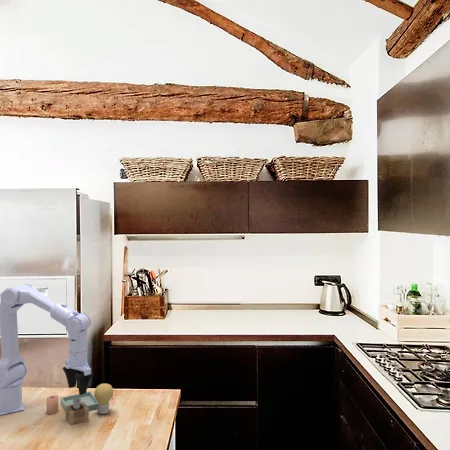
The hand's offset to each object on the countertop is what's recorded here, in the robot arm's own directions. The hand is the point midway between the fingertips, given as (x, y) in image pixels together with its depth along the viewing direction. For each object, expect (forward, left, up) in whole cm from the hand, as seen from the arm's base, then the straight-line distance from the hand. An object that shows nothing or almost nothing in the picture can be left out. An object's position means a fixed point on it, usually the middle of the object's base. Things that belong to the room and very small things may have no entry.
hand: (77, 390), depth 140 cm
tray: (-10, +4, -10) cm, 14 cm away
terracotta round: (-10, -6, -10) cm, 15 cm away
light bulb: (0, +9, -10) cm, 13 cm away
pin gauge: (0, 0, -10) cm, 10 cm away
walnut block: (0, 0, -10) cm, 10 cm away
